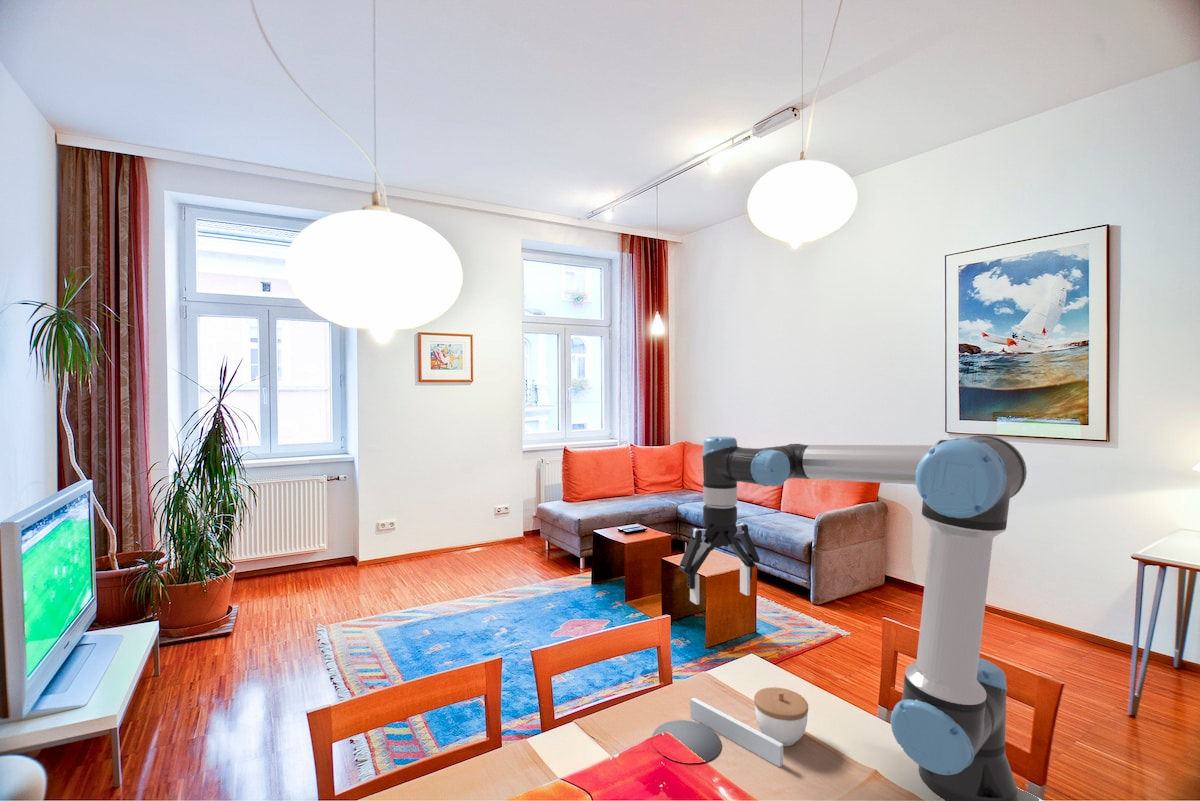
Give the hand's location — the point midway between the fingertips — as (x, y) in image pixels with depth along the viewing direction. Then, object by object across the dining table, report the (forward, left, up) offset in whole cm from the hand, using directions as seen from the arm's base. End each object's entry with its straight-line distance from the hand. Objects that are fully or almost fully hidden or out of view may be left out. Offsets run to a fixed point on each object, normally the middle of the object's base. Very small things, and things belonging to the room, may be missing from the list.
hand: (720, 598), depth 129 cm
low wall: (-9, +8, -25) cm, 28 cm away
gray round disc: (-3, +16, -25) cm, 30 cm away
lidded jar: (-15, 0, -25) cm, 29 cm away
